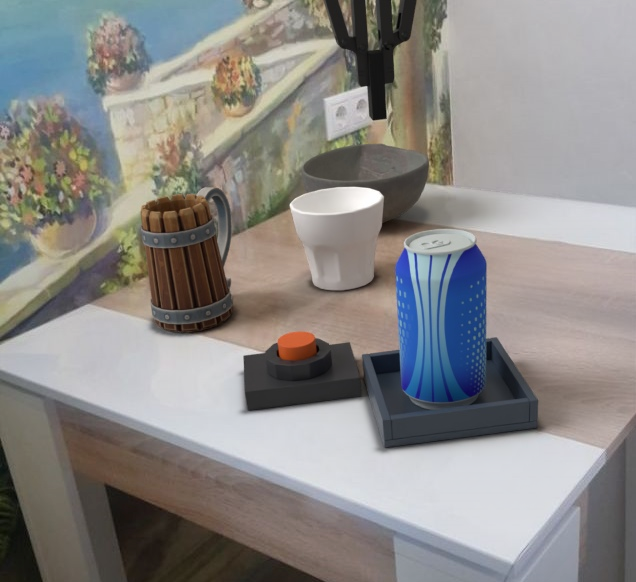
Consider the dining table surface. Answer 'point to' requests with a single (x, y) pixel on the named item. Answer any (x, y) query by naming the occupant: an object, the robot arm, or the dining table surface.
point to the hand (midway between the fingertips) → (377, 117)
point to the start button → (297, 346)
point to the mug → (188, 260)
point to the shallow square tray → (449, 423)
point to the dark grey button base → (301, 377)
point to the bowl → (371, 173)
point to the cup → (339, 234)
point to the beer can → (442, 318)
